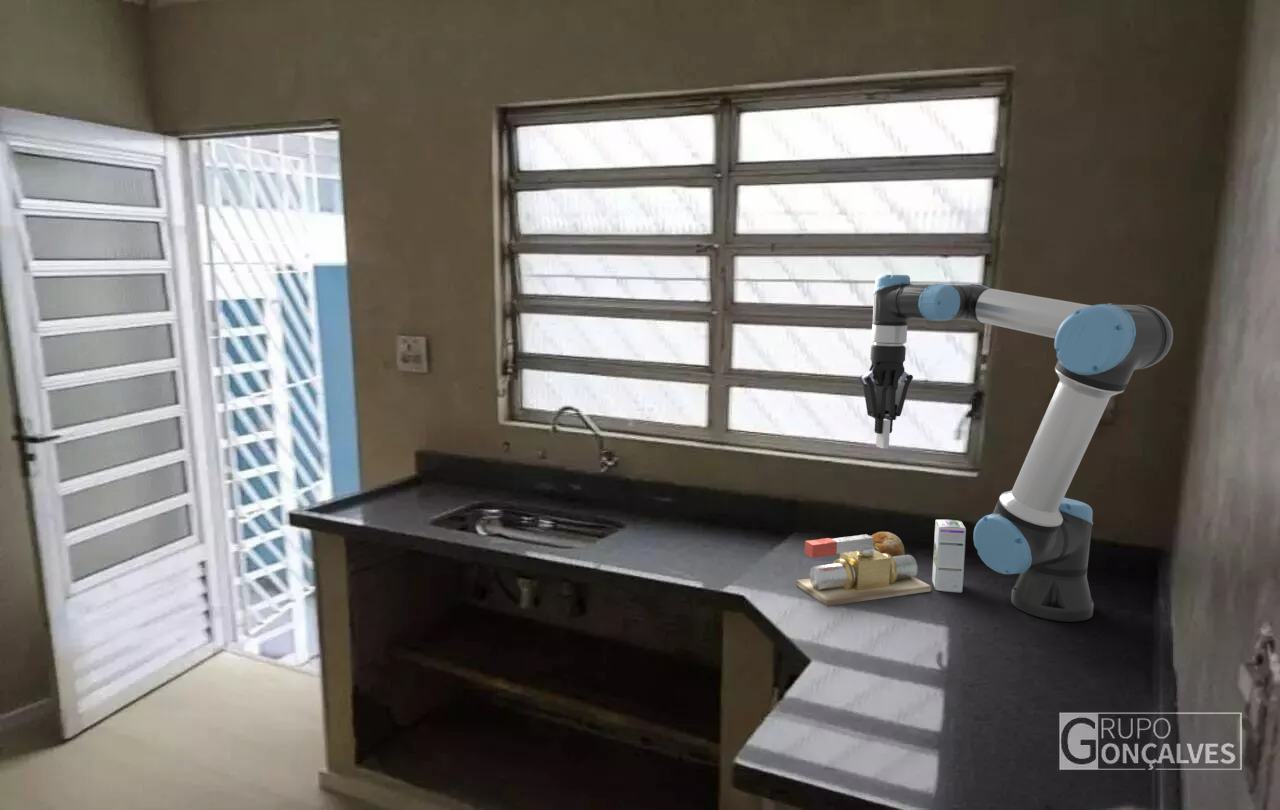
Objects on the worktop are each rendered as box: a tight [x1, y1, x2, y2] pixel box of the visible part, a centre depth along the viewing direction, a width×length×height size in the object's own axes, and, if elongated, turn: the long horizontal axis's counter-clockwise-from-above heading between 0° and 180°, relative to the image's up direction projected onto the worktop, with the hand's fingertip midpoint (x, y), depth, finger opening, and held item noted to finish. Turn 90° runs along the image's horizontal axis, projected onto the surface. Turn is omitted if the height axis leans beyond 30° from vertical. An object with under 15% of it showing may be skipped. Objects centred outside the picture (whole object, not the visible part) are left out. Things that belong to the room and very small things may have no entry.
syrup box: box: [931, 519, 967, 593], centre depth 179 cm, size 6×6×14 cm
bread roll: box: [870, 531, 906, 557], centre depth 199 cm, size 10×10×8 cm
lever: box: [804, 533, 874, 559], centre depth 175 cm, size 16×4×4 cm, turn 112°
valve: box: [809, 550, 918, 591], centre depth 178 cm, size 24×7×7 cm, turn 110°
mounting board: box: [795, 576, 932, 607], centre depth 179 cm, size 12×26×1 cm, turn 110°
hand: (882, 447), depth 188 cm, fingers closed
